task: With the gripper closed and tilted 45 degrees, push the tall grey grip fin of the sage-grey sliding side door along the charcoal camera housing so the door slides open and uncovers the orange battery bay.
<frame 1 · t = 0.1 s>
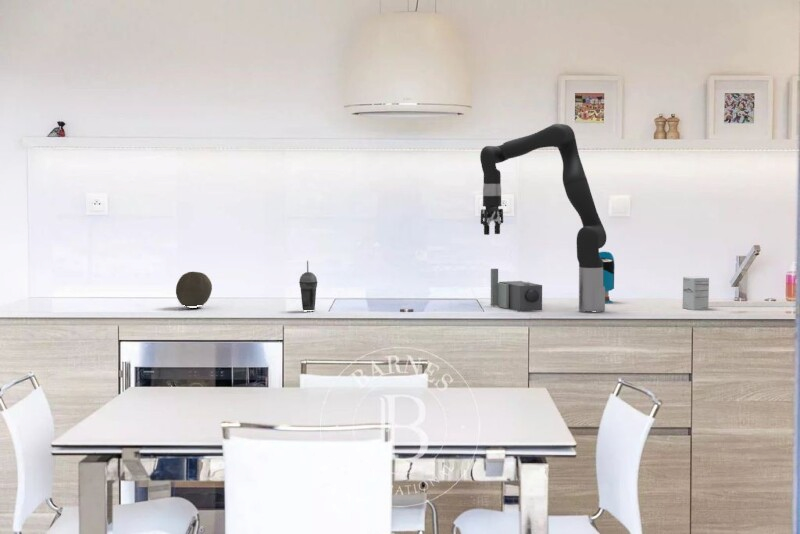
hand: (492, 234, 425), 29 cm above the table, tool pointing down, fingers open, 8 cm apart
beverage cup: (308, 312, 406), on the table
camera housing: (520, 308, 413), on the table
supplement box: (695, 309, 408), on the table
dark round piece: (194, 309, 419), on the table
side door: (499, 288, 414), point 8 cm above the table, slide at 0.0 cm
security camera: (603, 303, 432), on the table
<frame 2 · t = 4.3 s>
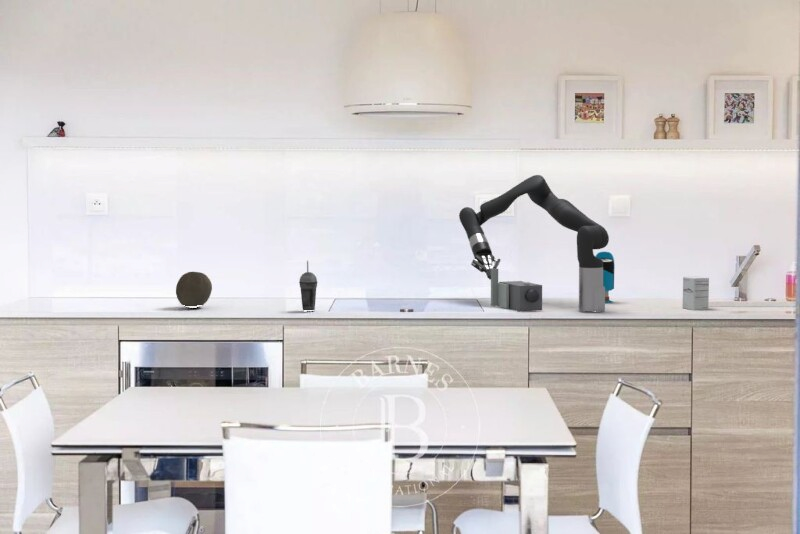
hand: (491, 278, 419), 12 cm above the table, tool tilted 45°, fingers closed
side door: (499, 288, 414), point 8 cm above the table, slide at 0.1 cm, touching gripper
everything else where it was.
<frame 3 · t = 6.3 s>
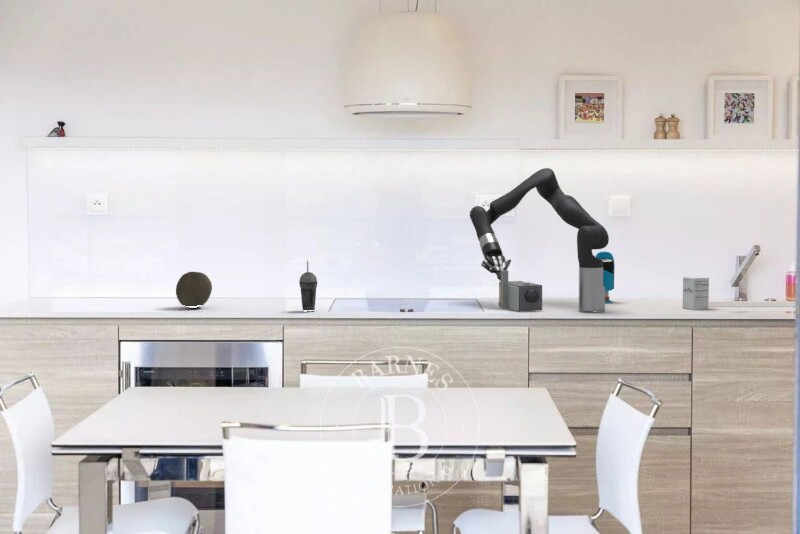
hand: (502, 279, 410), 12 cm above the table, tool tilted 45°, fingers closed
side door: (509, 290, 405), point 8 cm above the table, slide at 9.9 cm, touching gripper
everything else where it was.
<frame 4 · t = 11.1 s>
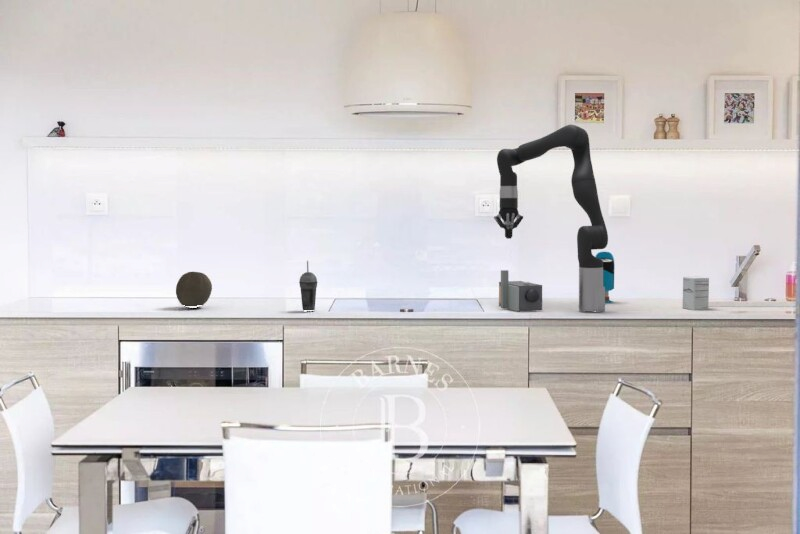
hand: (508, 238, 433), 27 cm above the table, tool pointing down, fingers closed
side door: (509, 290, 405), point 8 cm above the table, slide at 10.1 cm
everything else where it was.
at the end: side door slide at 10.1 cm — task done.
